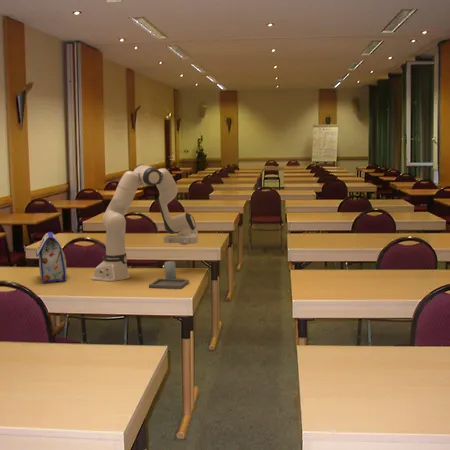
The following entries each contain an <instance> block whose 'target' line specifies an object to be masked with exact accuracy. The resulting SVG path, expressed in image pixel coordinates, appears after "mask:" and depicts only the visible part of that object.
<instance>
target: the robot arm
mask: <svg viewBox="0 0 450 450" xmlns="http://www.w3.org/2000/svg"><path fill="white" fill-rule="evenodd" d="M142 184H143V185H145V186H149V187H154V186H156V188H157V190H158V191H159V192H158V193H159V196H158V197H157V202H158V208H159V211H160V214H161V217H162V221H163V225H164V230H165V231H166V232H167V233H168V234H169V235H165V236H163V243H164V244H180V245H182V246H186V245H191V244H198V243H199V235H198V234H199V231H198V229H197V228H196V227H197V226H196V220H195V218H194V216H193V215H192V214H190V213H188V212H185V213H181V214H178V215H175V216H171V214H170V211H169V208H168V204H170V202H172V201H173V200H174V199H175V198H176V197H177V195H178V192H179V189H178V185H177V183H176V181H175V179H174V177H173V176H172V174H171V173H170V171H169V169H167V168H165V167H163V168H159V169H158V168H156V167H152V166H151V165H147V164H139V165H136V166H134V167H133V169H132V170H127V171H124V173H123V175H122V176H121V178H120V180H119V182H118V184H117V186H116V189H115V192H114V193H113V196H112V198H111V200H110V202H109V204H108V206H107V207H106V210H105V212H104V213H103V215H102V224H103V225H104V227H105V231H106V232H105V233H106V234H105V242H104V243H105V253H106V254H104V255H103V256H102V259H103V260H102V262H101V263H99V264H98V265H97V266H96V267H95V269H94V275H92V276H90V280H92V281H102V282H115V281H122V280H126V279H129V278H130V273H129V269H128V264H127V263H128V256H127V253H126V228H127V227H126V225H127V221H126V218H125V215H126V214H127V212H128V210H129V208H130V207H131V206H132V203H133V200H134V198H135V196H136V193H137V190H138V188H139V187H140V185H142ZM176 233H177V234H176Z"/></svg>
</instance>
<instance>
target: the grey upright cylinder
mask: <svg viewBox="0 0 450 450" xmlns="http://www.w3.org/2000/svg"><path fill="white" fill-rule="evenodd" d="M176 272H177V270H176V261H171V260H170V261H169V260H168V261H165V262H164V276H165V278H164V279H177V273H176Z"/></svg>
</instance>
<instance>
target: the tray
mask: <svg viewBox="0 0 450 450" xmlns="http://www.w3.org/2000/svg"><path fill="white" fill-rule="evenodd" d="M189 283H190V279H184V278H183V279H182V278H181V279H179V278H178V279H177V278H176V279H165V278H157V279H155V280H153V282H151V283H149V284H148V289H167V290H169V289H170V290H171V289H172V290H173V289H174V290H181V289H183V288H184V287H185V286H187V285H188V284H189Z"/></svg>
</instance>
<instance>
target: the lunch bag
mask: <svg viewBox="0 0 450 450" xmlns="http://www.w3.org/2000/svg"><path fill="white" fill-rule="evenodd" d="M35 255H36V258H39V259H38V264H39V274H40V279H41V282H42V283H43V284H49V283H54V282H65V281H66V280H67V259H66V255H65V253H64V250H63V248H62V246H61V242H60V241H59V239H58V238H57V237H56V235H55V234H54V233H53V231H48V232H47V233H45V234H44V235H43V237H42V239H41V241H40V243H39V245H38V246H37V249H36V251H35Z"/></svg>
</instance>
